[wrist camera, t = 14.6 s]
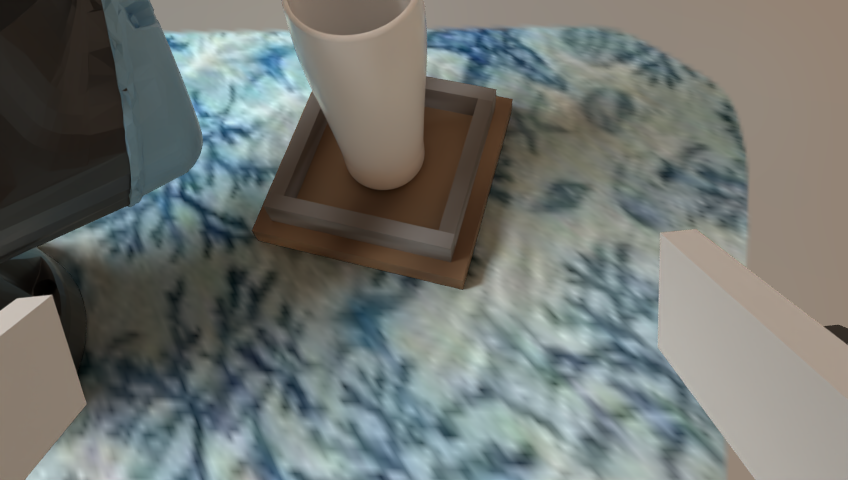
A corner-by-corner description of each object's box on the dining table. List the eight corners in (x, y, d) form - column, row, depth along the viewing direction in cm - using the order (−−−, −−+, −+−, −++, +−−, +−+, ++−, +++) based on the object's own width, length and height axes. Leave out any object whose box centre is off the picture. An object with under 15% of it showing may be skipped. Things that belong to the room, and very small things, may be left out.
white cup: (351, 111, 46) (303, -74, 32) (445, 126, 45) (437, -59, 31) (323, 194, 43) (258, 29, 30) (423, 212, 42) (403, 50, 29)
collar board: (258, 240, 44) (242, 216, 40) (327, 77, 49) (318, 44, 46) (462, 289, 41) (462, 267, 38) (511, 112, 47) (514, 80, 44)
